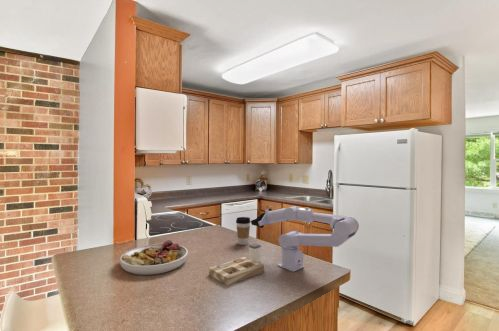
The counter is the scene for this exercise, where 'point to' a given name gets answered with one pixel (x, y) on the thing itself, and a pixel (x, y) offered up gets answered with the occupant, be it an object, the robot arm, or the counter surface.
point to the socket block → (236, 270)
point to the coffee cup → (243, 230)
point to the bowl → (154, 258)
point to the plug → (255, 252)
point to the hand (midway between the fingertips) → (256, 219)
